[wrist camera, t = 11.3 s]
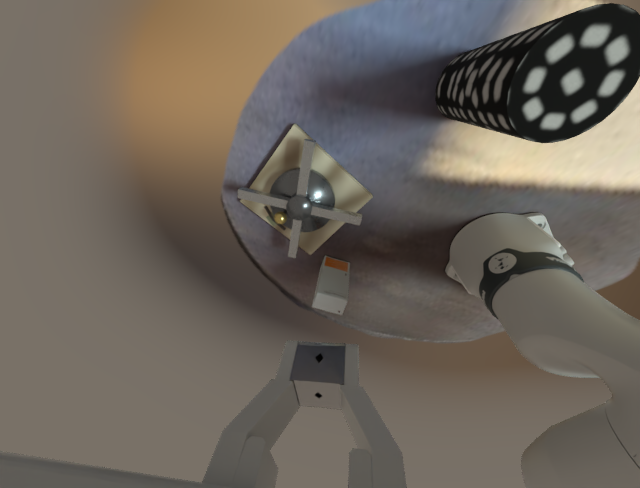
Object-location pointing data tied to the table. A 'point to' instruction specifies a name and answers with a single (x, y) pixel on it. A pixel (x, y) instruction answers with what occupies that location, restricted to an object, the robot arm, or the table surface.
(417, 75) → the table surface
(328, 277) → the skincare box
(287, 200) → the capstan
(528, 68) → the spotted tube
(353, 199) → the beige base plate
